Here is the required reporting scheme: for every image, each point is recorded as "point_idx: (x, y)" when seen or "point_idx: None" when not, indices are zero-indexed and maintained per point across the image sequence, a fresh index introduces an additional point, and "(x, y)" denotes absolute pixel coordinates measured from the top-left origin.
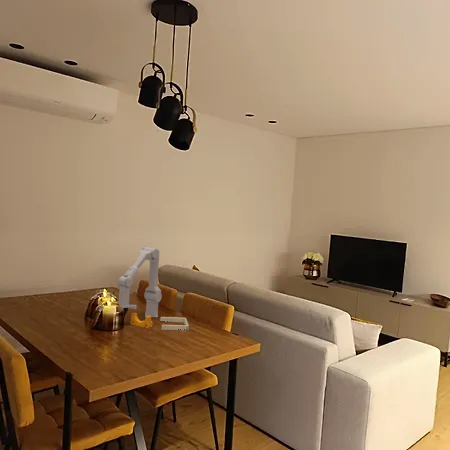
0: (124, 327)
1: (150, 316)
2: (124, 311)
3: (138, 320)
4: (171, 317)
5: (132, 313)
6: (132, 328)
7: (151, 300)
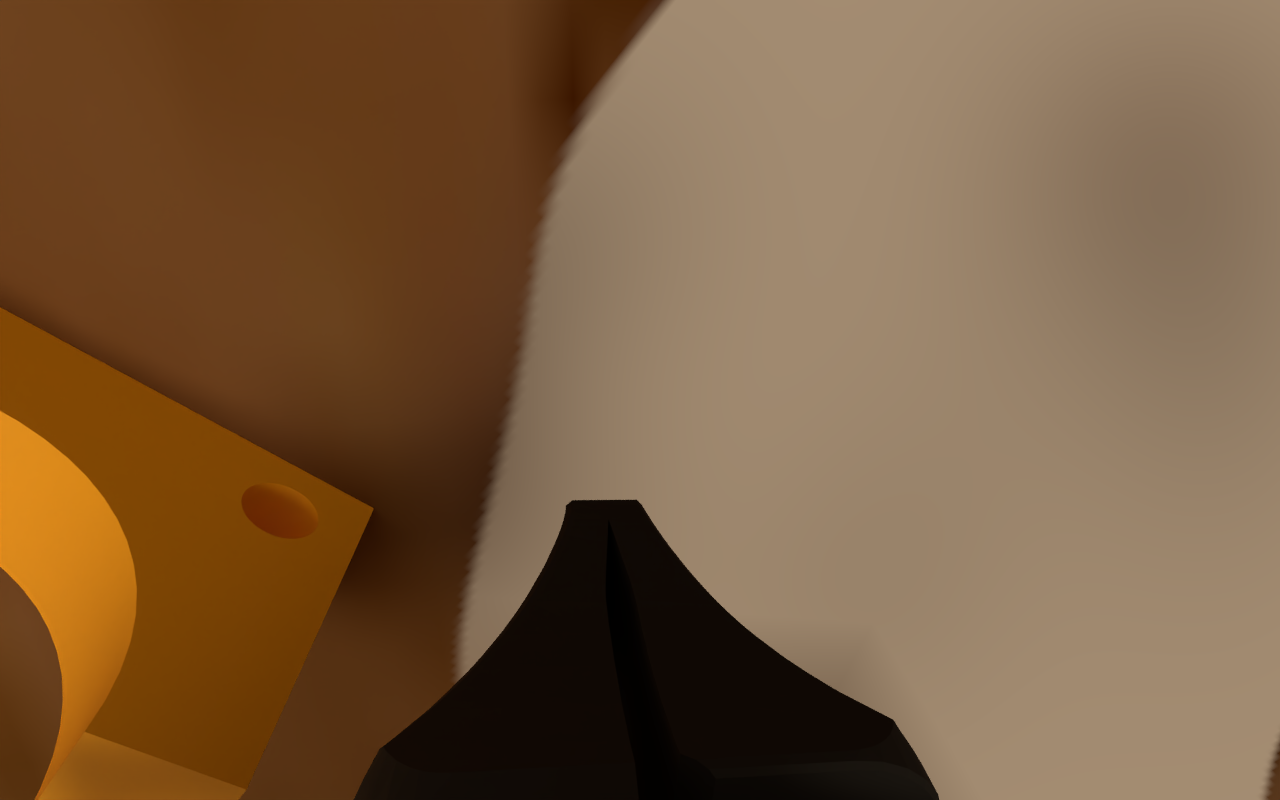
0: (520, 190)
1: None
2: (557, 730)
3: (43, 544)
4: None
5: (192, 795)
6: (237, 81)
7: None
